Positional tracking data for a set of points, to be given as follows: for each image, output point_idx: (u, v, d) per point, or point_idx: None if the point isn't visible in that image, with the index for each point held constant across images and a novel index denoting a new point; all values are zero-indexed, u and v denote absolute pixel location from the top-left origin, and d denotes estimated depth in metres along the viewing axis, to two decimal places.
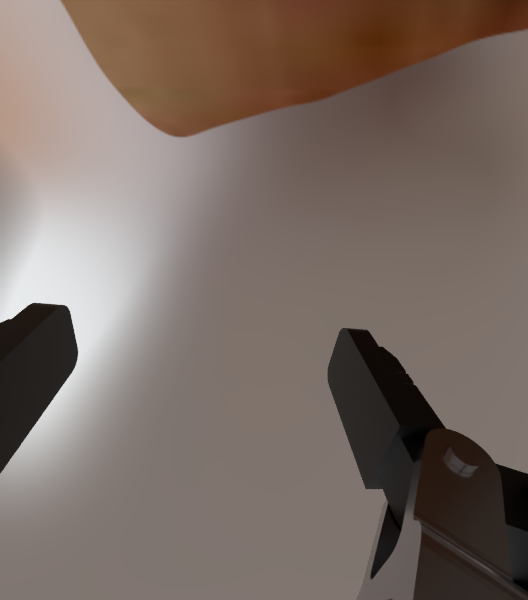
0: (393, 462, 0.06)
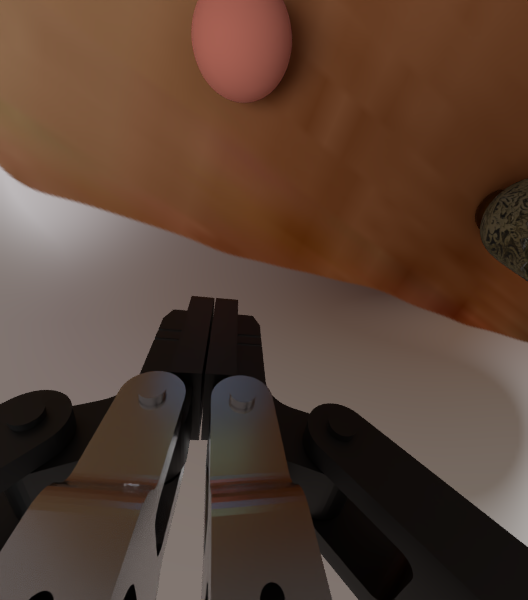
0: (210, 411, 0.07)
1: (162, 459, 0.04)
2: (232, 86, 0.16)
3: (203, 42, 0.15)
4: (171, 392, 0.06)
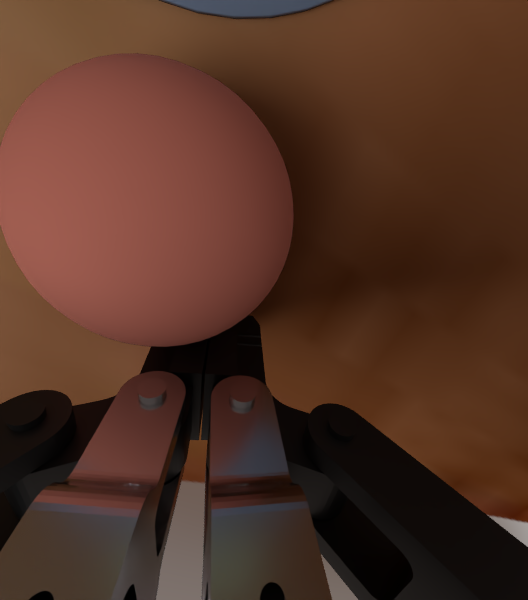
0: (210, 411, 0.07)
1: (162, 459, 0.04)
2: (116, 335, 0.05)
3: (5, 230, 0.04)
4: (171, 392, 0.06)
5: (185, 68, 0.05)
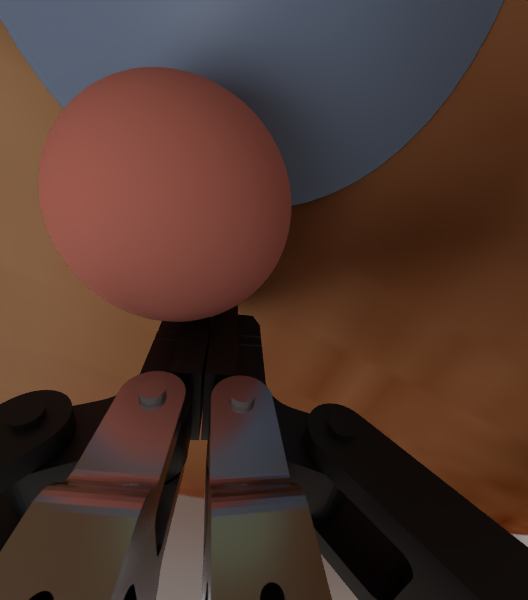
0: (210, 410, 0.07)
1: (162, 459, 0.04)
2: (93, 110, 0.05)
3: None
4: (171, 392, 0.06)
5: None
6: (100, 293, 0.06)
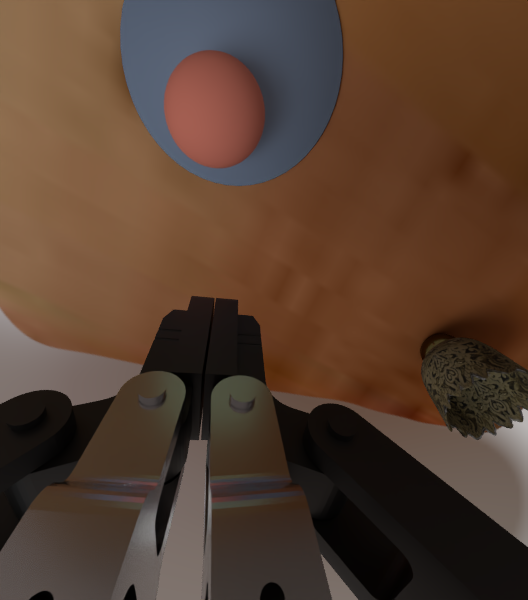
0: (210, 411, 0.07)
1: (162, 459, 0.04)
2: None
3: None
4: (171, 392, 0.06)
5: None
6: (196, 65, 0.14)
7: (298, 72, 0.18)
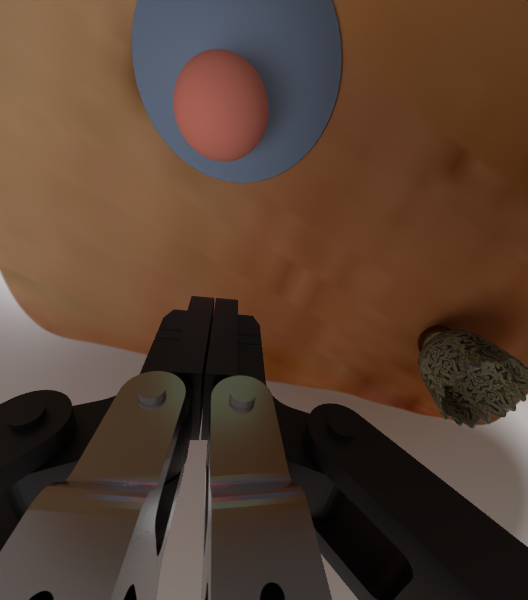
0: None
1: (162, 459, 0.04)
2: None
3: None
4: (171, 392, 0.06)
5: None
6: (205, 60, 0.15)
7: (299, 74, 0.19)
